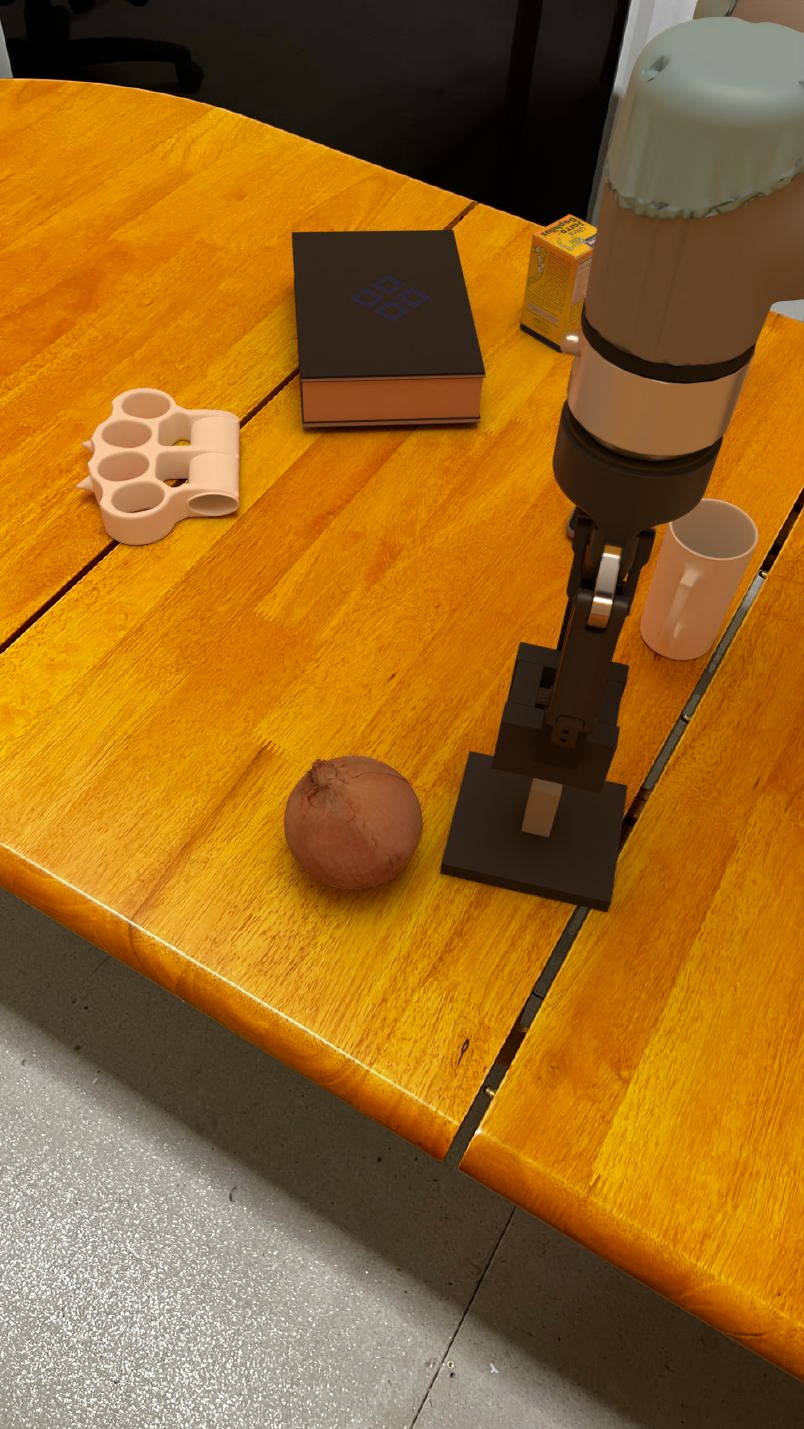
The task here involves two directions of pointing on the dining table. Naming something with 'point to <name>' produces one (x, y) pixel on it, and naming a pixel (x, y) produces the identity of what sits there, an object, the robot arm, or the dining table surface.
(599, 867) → the base pad
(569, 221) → the supplement box
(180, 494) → the knuckle duster
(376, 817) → the onion
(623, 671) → the black hollow block
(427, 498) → the dining table surface
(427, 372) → the book
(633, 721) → the dining table surface
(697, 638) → the mug
